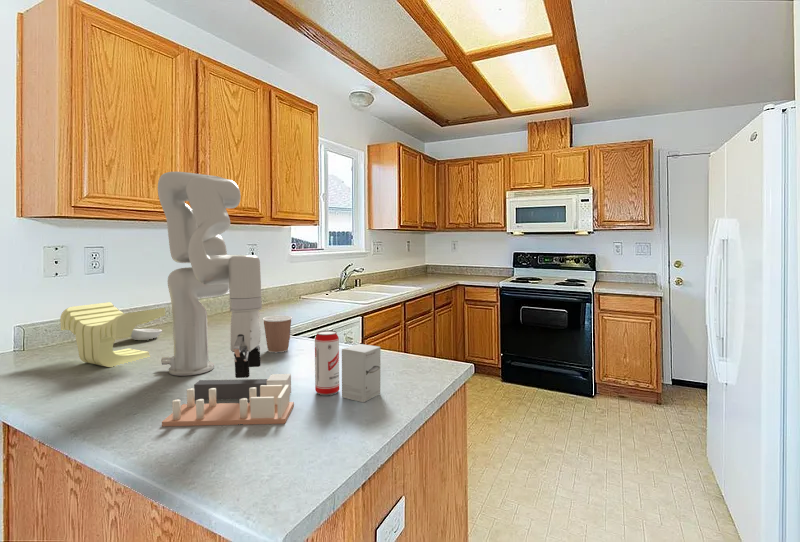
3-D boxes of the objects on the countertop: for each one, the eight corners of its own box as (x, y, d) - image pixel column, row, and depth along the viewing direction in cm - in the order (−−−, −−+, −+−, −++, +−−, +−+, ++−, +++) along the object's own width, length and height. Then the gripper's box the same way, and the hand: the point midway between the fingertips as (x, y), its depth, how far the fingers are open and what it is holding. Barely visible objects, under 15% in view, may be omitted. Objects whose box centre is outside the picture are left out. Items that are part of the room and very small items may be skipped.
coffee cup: (298, 349, 157) (298, 317, 157) (276, 355, 149) (276, 321, 148) (279, 345, 163) (278, 314, 162) (257, 351, 154) (256, 318, 153)
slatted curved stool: (62, 361, 141) (59, 308, 140) (112, 350, 156) (110, 302, 155) (117, 373, 128) (115, 314, 127) (167, 360, 143) (165, 307, 142)
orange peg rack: (161, 426, 91) (161, 401, 91) (183, 408, 101) (182, 385, 101) (284, 423, 93) (284, 398, 93) (293, 406, 103) (293, 383, 102)
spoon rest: (150, 335, 182) (149, 318, 182) (168, 338, 177) (167, 321, 176) (89, 347, 161) (88, 328, 161) (107, 351, 156) (107, 331, 155)
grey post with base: (193, 401, 106) (192, 381, 106) (201, 394, 111) (200, 375, 111) (287, 399, 107) (286, 380, 107) (291, 392, 112) (290, 374, 112)
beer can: (343, 389, 114) (343, 330, 113) (332, 398, 108) (331, 335, 107) (322, 387, 116) (322, 329, 115) (310, 395, 110) (309, 333, 109)
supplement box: (364, 403, 105) (364, 352, 104) (341, 397, 109) (340, 348, 108) (381, 394, 111) (381, 346, 110) (358, 389, 115) (358, 342, 114)
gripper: (241, 301, 116) (244, 363, 117) (217, 309, 99) (221, 382, 99) (269, 300, 116) (272, 362, 117) (251, 308, 99) (253, 381, 100)
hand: (248, 371), depth 108 cm, fingers open, 9 cm apart
